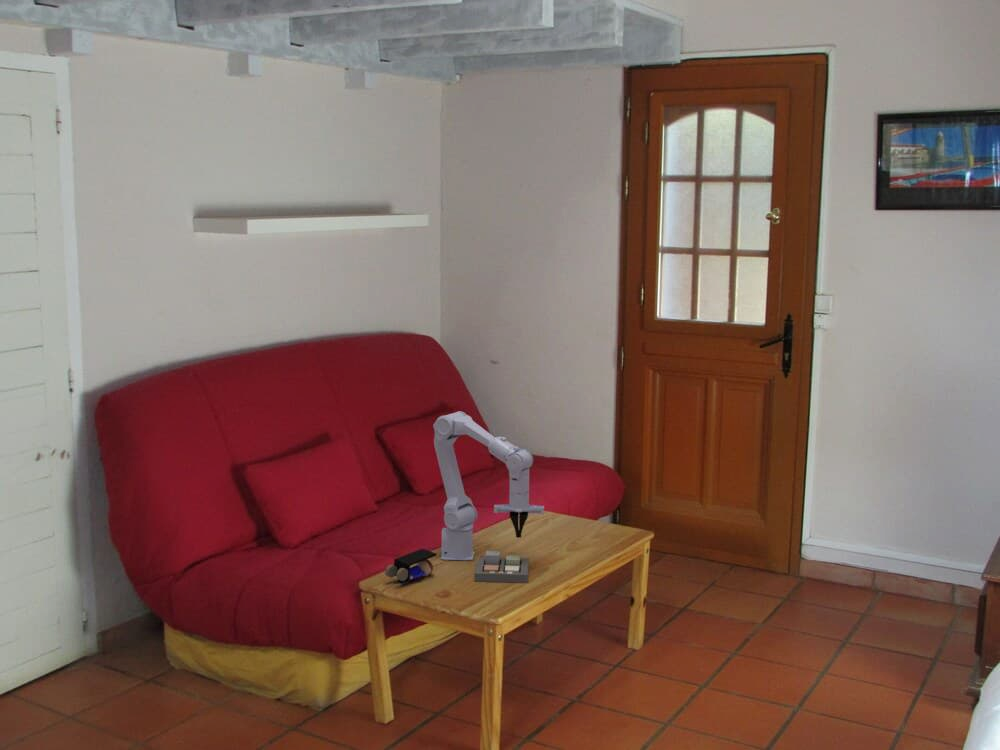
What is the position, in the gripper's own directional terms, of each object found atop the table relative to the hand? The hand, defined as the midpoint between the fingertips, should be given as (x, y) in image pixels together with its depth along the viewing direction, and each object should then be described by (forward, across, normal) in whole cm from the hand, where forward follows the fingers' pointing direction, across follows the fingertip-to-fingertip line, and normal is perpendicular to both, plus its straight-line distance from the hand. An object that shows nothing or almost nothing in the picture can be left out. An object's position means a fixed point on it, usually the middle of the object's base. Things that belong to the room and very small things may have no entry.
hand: (518, 536), depth 337 cm
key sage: (+9, -2, -1) cm, 9 cm away
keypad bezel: (+10, -4, -4) cm, 12 cm away
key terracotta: (+9, -7, -7) cm, 14 cm away
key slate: (+8, -8, -2) cm, 11 cm away
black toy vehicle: (+10, -30, -12) cm, 34 cm away
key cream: (+9, -1, -7) cm, 12 cm away
